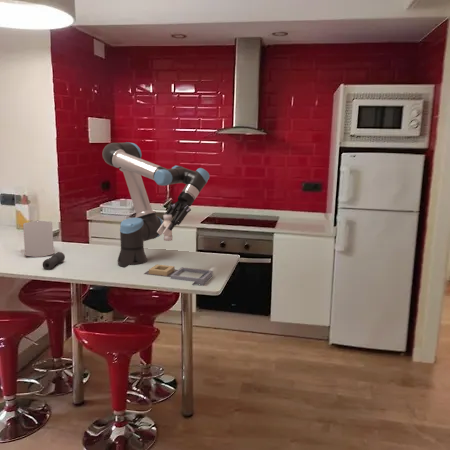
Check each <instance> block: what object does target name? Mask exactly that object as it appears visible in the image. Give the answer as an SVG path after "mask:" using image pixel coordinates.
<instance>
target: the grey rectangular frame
mask: <svg viewBox="0 0 450 450" xmlns="http://www.w3.org/2000/svg"><path fill="white" fill-rule="evenodd" d="M176 270H177V271H176V272H175V273H173V274H172V275H171V277H170V280H177V281H184V282H185V281H186V282H193V283H192V285H193V284H200V285H199V286H202V285H203V286H204V285H206V284H207V281H208V280H209V279H210V278H211V277H212V276H213V275H214V274H213V272H214V271H213V270H208V269H201V268H200V269H199V268H191V267H180V268H179V269H176ZM183 272H186V273H187V272H188V273H197V274H202V275H200V276H199V277H192V276H183V275H180V274H181V273H183ZM212 278H213V277H212ZM212 278H211V279H212ZM211 279H210V280H211ZM208 282H209V281H208Z"/></svg>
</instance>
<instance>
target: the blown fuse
mask: <svg viewBox="0 0 450 450" xmlns="http://www.w3.org/2000/svg"><path fill="white" fill-rule="evenodd" d="M164 214H165V213H164ZM164 214H163V215H162V217H163V218H164V230H165V229H166V227H167V226H168V224H169V223H170V222H171V221H172V220H173V218H172V215H171V214H165V215H164ZM171 223H172V222H171ZM163 241H164V242H165V241H166V242H170V241H171V242H172V241H173V229H172V230H171V231H170V233H169V234H168V236H167V237H166V236H165V235H164V234H163Z"/></svg>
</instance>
